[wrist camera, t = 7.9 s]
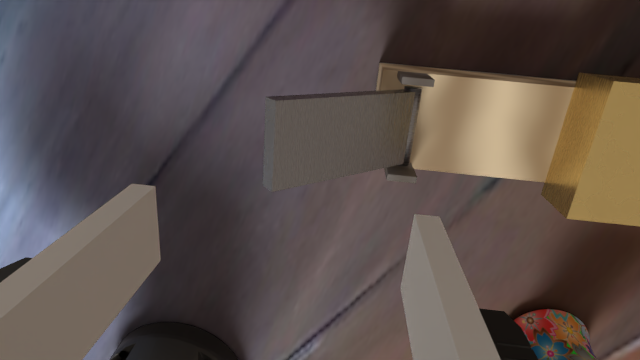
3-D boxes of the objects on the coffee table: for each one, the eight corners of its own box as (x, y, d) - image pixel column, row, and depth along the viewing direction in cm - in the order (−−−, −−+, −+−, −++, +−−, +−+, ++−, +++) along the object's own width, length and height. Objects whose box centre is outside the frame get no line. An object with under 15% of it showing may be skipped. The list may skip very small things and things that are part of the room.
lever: (400, 159, 30) (261, 188, 23) (412, 85, 28) (264, 92, 21) (412, 165, 29) (272, 195, 22) (426, 88, 27) (277, 97, 20)
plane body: (368, 145, 36) (372, 178, 28) (379, 62, 33) (386, 75, 26) (651, 173, 35) (731, 216, 27) (685, 90, 32) (784, 112, 25)
